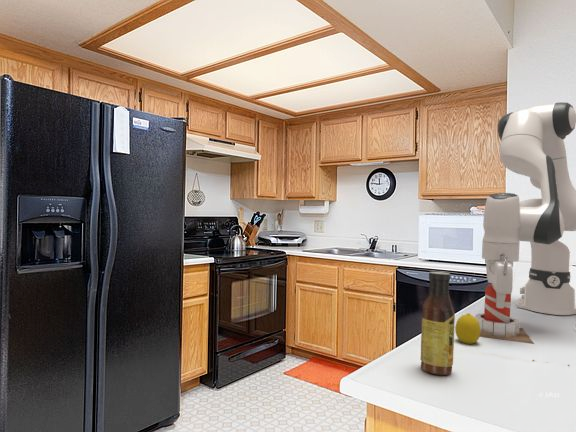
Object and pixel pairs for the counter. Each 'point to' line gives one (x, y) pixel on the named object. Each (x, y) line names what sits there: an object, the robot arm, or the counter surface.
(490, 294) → the beverage can
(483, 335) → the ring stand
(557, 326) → the counter surface
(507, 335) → the white segmented ring
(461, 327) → the lemon
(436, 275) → the sauce bottle
